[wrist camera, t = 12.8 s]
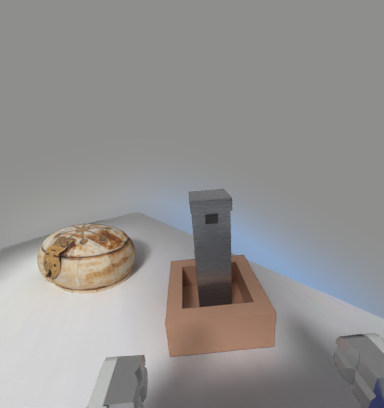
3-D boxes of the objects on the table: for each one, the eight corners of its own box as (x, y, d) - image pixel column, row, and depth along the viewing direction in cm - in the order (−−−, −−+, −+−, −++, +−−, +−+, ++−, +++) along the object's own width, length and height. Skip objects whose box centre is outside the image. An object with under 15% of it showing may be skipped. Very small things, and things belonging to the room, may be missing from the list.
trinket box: (61, 258, 39) (50, 219, 37) (140, 246, 41) (134, 209, 39) (17, 311, 27) (-4, 258, 24) (135, 290, 29) (126, 240, 27)
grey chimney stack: (199, 318, 22) (189, 201, 18) (196, 293, 26) (188, 191, 22) (233, 315, 22) (232, 197, 18) (226, 290, 26) (223, 188, 22)
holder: (169, 356, 19) (165, 323, 18) (173, 286, 29) (171, 261, 28) (274, 346, 19) (276, 312, 18) (243, 279, 29) (243, 254, 28)
